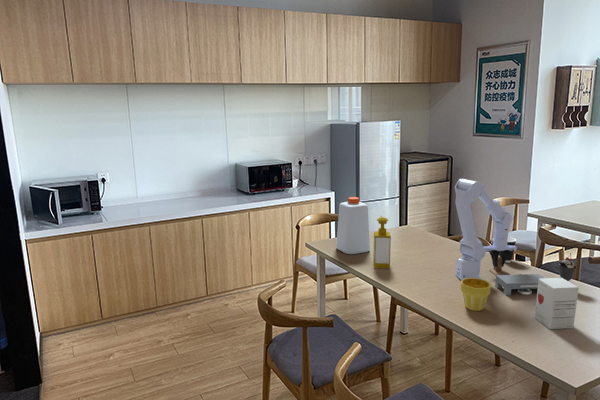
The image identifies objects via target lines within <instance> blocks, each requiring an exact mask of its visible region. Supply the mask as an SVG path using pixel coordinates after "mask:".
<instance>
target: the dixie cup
mask: <svg viewBox="0 0 600 400" xmlns="http://www.w3.org/2000/svg"><path fill="white" fill-rule="evenodd" d="M517 241H518V240H517V239H516V238H514V237H509V236H508V241H507V245H510V246H516V242H517ZM509 252H510V255H509V256H508V258H507V259H506V261H505V263H511V262H512V260H513V256H514V252H515V251H509Z"/></svg>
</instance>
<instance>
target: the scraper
mask: <svg viewBox="0 0 600 400" xmlns="http://www.w3.org/2000/svg"><path fill="white" fill-rule="evenodd" d="M502 259H503V258H501V257H500V256H498V261H497V267H495V266H493V268H490V269H489V270H488V271H489V272H490V273H491V274H493V275H494V276H495V277H496V275H511V274H510V273H509V272H507V271H506V270H505V269H503V267H502ZM513 291H518V289H513Z"/></svg>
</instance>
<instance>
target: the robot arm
mask: <svg viewBox="0 0 600 400" xmlns="http://www.w3.org/2000/svg"><path fill="white" fill-rule="evenodd" d="M485 187H486V186H485V185H484V184H483V183H482V182H481V181H479V180H478V181H477V180H471V179H467V178H462V177H461V178H459V179H458V181H457V182H456V183H455V186H454V191H455V201H454V203H455V207H456V213H457V216H458V221H459V226H460V230H461V233H462V238H461V240H459V253H460V254H461V257H460V258H457V260H456V263H455V264H456V265H455V274H454V275H455V276H456V277H457V278H458V279H459V280H460V282H461V281H462V280H463V279H466V278H479V279H483V277H481V276H480V274H481V273H480V272H481V262H482V261H483V259H484V258H485V255H486V253H487V252H489V254H490V257H491V260H492V265H493V267H494V266H495V267H497V261H498V257H501V258H503V259H502V268H503V267H504V266H505V263H506V262H505V261H506V259H507V258H508V256H509V255H510V252H509V251H514V252H517V249H518V246H516V245H515V246H510V245H507V241H508V237H509V231H510V230H509V229H510V227H511V224H512V222H513V220H514V219H513V215H512V213H510V212H509V211H507V210H506V208H505V207H503V206H502V205H501V204H500V203H501V202H500V201H499V200H496V199H493V198H492V197H491V196H490V194H489V193H488V192H487V190H486V189H485ZM477 199H479V200H480V201H481V202H482V203H483V204H484V205H485V210H486V211H487V212H488V213H489V214H490V216H491V220H492V221H493V222H494V229H493V239H492V241H493V242H492V245H486V246H484V245H483V242H482V241H481V240H480V239H479V238H478V236H477V232H476V227H475V223H474V217H473V213H472V209H471V204H473V203H474V202H476V200H477Z"/></svg>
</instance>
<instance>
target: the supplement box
mask: <svg viewBox="0 0 600 400" xmlns="http://www.w3.org/2000/svg"><path fill="white" fill-rule="evenodd" d="M579 290H580V289H579V286H577V285H575V284H573V283H572V282H570V281H567V280H565V279H563V278H561V277H544V278H541V279H539V281H538V288H537V290H536V291H537V292H536V301H535V302H536V303H535V312H534V319H536V320H537V321H538V322H540V323H541V324H542V325H543V326H545V327H546V328H548V329H549V330H557V329H558V330H559V329H574V327H575V318H576V313H577V312H576V311H577V305H578V304H577V303H578V297H579V296H578V295H579Z"/></svg>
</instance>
